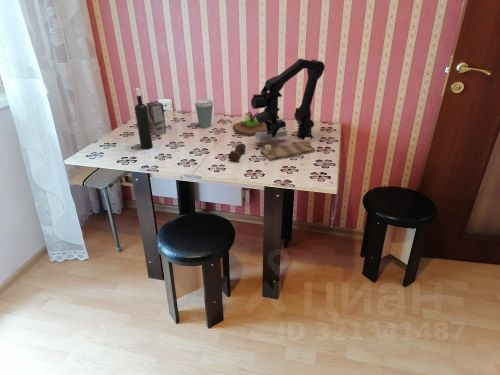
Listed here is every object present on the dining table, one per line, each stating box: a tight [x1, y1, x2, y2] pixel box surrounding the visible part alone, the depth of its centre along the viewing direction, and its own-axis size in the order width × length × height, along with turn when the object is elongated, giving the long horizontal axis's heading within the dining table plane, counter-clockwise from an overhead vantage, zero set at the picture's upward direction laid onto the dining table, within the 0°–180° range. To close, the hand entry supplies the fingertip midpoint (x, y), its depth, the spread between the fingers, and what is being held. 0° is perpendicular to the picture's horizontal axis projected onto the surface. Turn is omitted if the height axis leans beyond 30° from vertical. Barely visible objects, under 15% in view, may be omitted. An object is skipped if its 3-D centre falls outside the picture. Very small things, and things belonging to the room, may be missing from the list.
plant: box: [232, 111, 268, 137], centre depth 208 cm, size 20×20×11 cm
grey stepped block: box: [254, 127, 288, 143], centre depth 192 cm, size 16×6×3 cm, turn 114°
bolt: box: [227, 143, 247, 163], centre depth 179 cm, size 6×5×15 cm
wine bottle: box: [134, 87, 154, 150], centre depth 183 cm, size 6×6×30 cm
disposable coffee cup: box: [194, 98, 214, 129], centre depth 213 cm, size 11×11×15 cm
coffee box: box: [145, 100, 167, 136], centre depth 205 cm, size 9×6×16 cm
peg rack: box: [260, 137, 316, 162], centre depth 182 cm, size 25×10×6 cm, turn 114°
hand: (271, 135), depth 192 cm, fingers closed on grey stepped block, 4 cm apart
